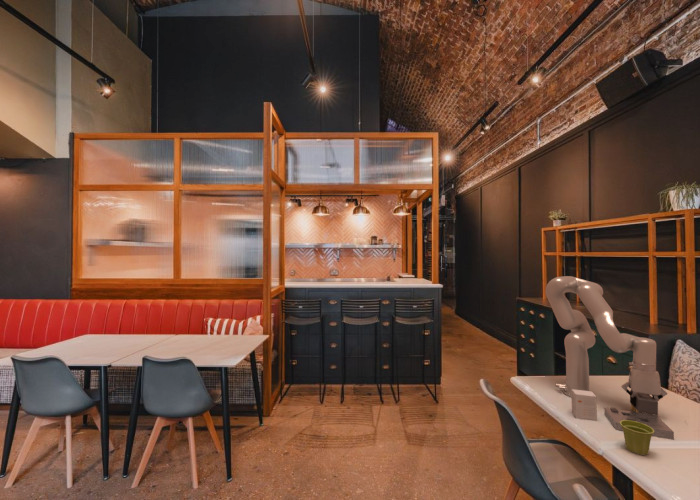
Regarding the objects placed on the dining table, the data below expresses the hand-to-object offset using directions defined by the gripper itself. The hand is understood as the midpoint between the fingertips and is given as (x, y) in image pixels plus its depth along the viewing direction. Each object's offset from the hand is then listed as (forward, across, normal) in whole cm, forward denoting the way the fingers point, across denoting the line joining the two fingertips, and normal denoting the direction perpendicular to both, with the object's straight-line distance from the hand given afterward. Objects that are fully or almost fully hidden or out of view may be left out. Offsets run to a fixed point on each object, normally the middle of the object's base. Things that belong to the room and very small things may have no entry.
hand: (643, 406), depth 144 cm
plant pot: (+4, -13, -33) cm, 36 cm away
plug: (+3, 0, 0) cm, 3 cm away
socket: (+4, -6, -12) cm, 14 cm away
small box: (+4, -24, -11) cm, 27 cm away
